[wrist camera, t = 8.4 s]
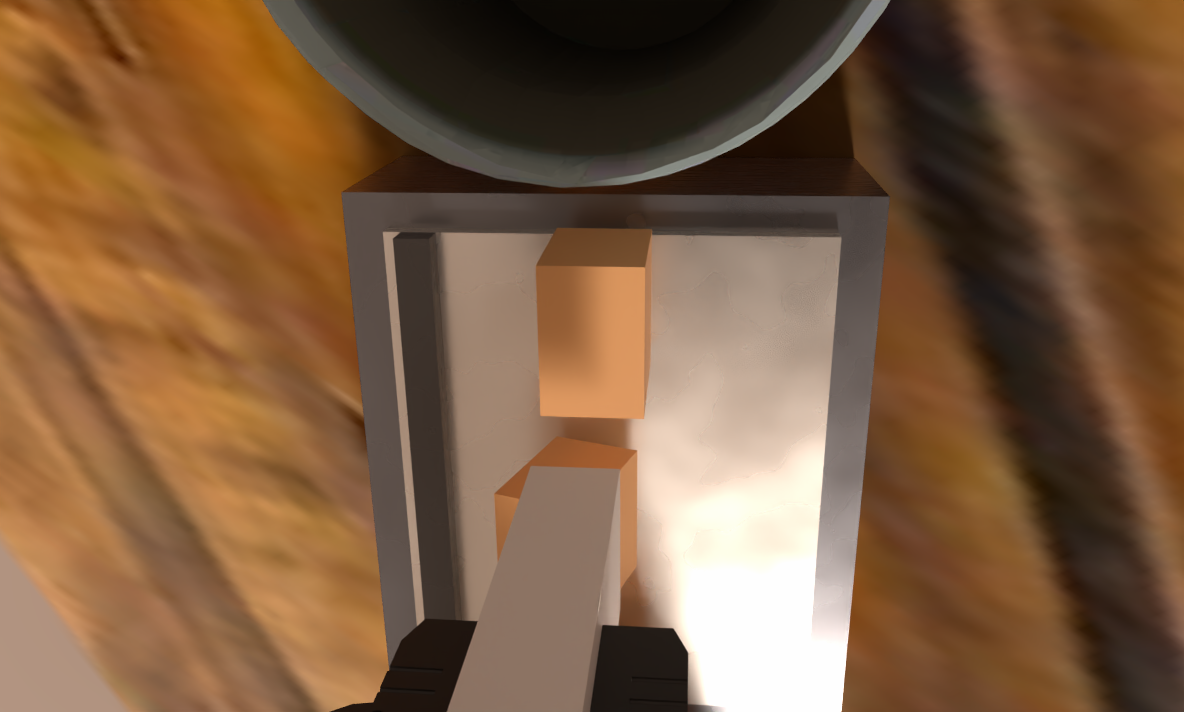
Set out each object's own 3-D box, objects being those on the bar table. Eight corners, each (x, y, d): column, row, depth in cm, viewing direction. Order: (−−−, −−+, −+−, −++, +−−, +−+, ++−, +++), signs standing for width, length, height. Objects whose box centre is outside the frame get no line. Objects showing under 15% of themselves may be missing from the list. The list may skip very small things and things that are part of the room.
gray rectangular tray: (854, 158, 26) (898, 206, 20) (817, 614, 31) (844, 754, 25) (402, 155, 27) (326, 201, 21) (437, 596, 32) (381, 726, 26)
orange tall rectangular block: (651, 229, 21) (645, 267, 18) (650, 363, 22) (643, 419, 19) (556, 227, 21) (535, 265, 18) (560, 360, 22) (540, 416, 19)
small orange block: (637, 450, 22) (582, 511, 20) (636, 566, 23) (584, 638, 21) (557, 435, 23) (493, 493, 20) (559, 548, 24) (500, 616, 22)
